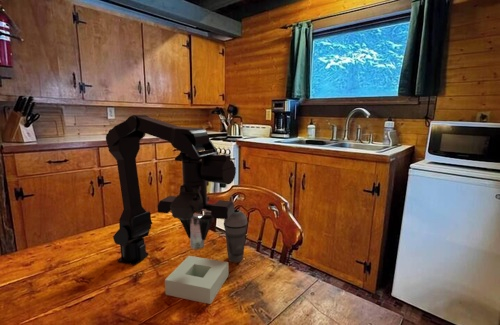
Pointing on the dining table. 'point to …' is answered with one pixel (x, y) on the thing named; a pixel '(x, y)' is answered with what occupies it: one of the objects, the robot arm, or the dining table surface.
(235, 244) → the beverage cup
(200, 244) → the peg
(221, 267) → the socket block
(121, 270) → the dining table surface
